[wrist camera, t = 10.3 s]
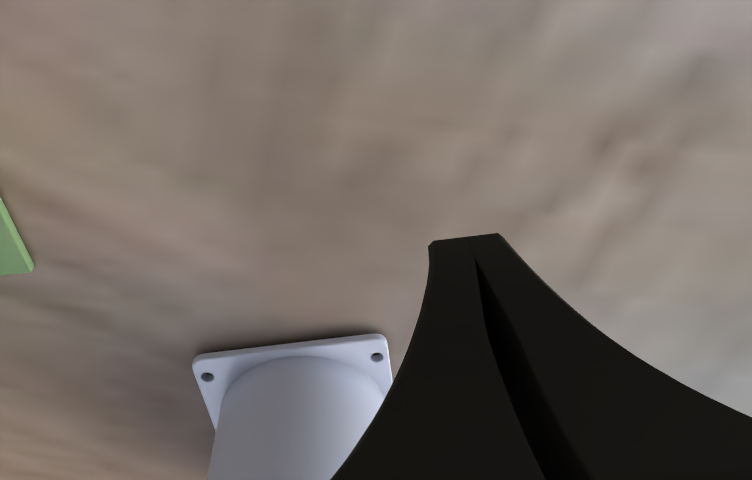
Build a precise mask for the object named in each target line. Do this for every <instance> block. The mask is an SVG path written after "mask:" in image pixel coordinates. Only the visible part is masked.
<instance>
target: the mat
mask: <svg viewBox="0 0 752 480" xmlns="http://www.w3.org/2000/svg"><path fill="white" fill-rule="evenodd" d="M33 268H34V264H33V262H32V260H31V258H30V256H29V254H28V252H27V250H26V248H25V245H24V243H23V241H22V239H21V237H20V235H19V233H18V231H17V229H16V227H15V225H14V223H13V221H12V219H11V217H10V215H9V213H8V211H7V209H6V207H5V205H4V203H3V201H2V199H1V197H0V276H2V275H10V274H19V273H27V272H31V271H32V269H33Z"/></svg>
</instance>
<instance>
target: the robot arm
mask: <svg viewBox="0 0 752 480" xmlns="http://www.w3.org/2000/svg"><path fill="white" fill-rule="evenodd" d="M428 252H429V273H428V279H427V285H426V290H425V294H424V298H423V303H422V307H421V311H420V314H419V318H418V321H417V324H416V327H415V330H414V333H413V336H412V339H411V342H410V344H409V347H408V350H407V352H406V355H405V357H404V359H403V362H402V364H401V366H400V369H399V371H398V373H397V375H396V377H395V379H394V382H393V380H392V372H391V365H390V358H389V351H388V344H387V340H386V338H385V337H384V336H383V335H381V334H376V333H373V334H364V335H356V336H348V337H339V338H331V339H322V340H314V341H305V342H297V343H288V344H280V345H271V346H263V347H254V348H246V349H238V350H229V351H221V352H212V353H204V354H199V355H197V356H196V357H195V358H194V360H193V364H192V369H193V372H194V375H195V378H196V380H197V383H198V386H199V388H200V391H201V394H202V396H203V399H204V402H205V404H206V407H207V410H208V412H209V415H210V418H211V420H212V423H213V426H214V429H215V431H216V434H215V439H214V444H213V450H212V455H211V460H210V465H209V470H208V476H207V480H752V417H749V416H747V415H745V414H743V413H740V412H738V411H736V410H734V409H732V408H730V407H728V406H726V405H724V404H722V403H719V402H717V401H715V400H713V399H711V398H709V397H707V396H705V395H703V394H701V393H699V392H697V391H695V390H693V389H691V388H690V387H688V386H686V385H684V384H682V383H680V382H678V381H677V380H675V379H673V378H672V377H670V376H668V375H666V374H665V373H663V372H661V371H659V370H658V369H656V368H654V367H653V366H651V365H649V364H648V363H646V362H644V361H643V360H641V359H640V358H638V357H636V356H635V355H633V354H632V353H630V352H629V351H627V350H626V349H625V348H623V347H622V346H620V345H619V344H617V343H616V342H614V341H613V340H612V339H610V338H609V337H608V336H606V335H605V334H604V333H602V332H601V331H600V330H598V329H597V328H596V327H595V326H593V325H592V324H591V323H590V322H588V321H587V320H586V319H585V318H584V317H583V316H581V315H580V314H579V313H578V312H577V311H575V310H574V309H573V308H572V307H571V306H570V305H569V304H567V303H566V302H565V301H564V300H563V299H562V298H561V297H560V296H559V295H558V294H557V293H556V292H554V291H553V290H552V289H551V288H550V287H549V286H548V285H547V284H546V283H545V282H544V281H543V280H542V279H541V278H540V277H539V276H538V275H537V274H536V273H535V272H534V271H533V270H532V269H531V268H530V267H529V266H528V265H527V264H526V263H525V261H524V260H523V259H522V258H521V257H520V256H519V255H518V254H517V253H516V252H515V250H514V249H513V248H512V247H511V246H510V245H509V243H508V242H507V241H506V240H505V239H504V238H503V237H502V236H501V235H500V234H498V233H495V234H486V235H478V236H470V237H461V238H453V239H445V240H436V241H433V242H432V243H431V244H430V245H429V246H428ZM373 353H380V355H372V354H373ZM205 373H211V374H212V375H207V374H205Z"/></svg>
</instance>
